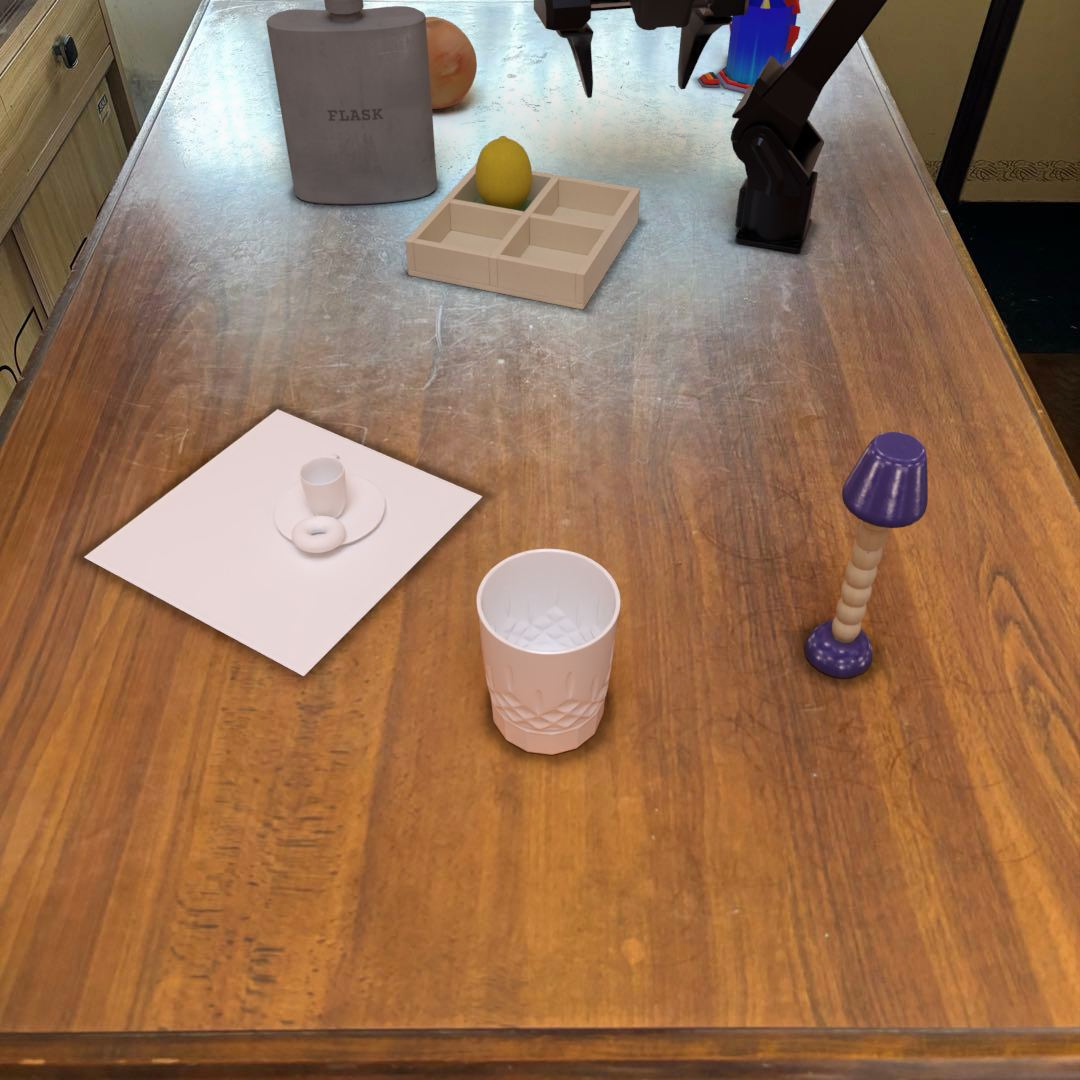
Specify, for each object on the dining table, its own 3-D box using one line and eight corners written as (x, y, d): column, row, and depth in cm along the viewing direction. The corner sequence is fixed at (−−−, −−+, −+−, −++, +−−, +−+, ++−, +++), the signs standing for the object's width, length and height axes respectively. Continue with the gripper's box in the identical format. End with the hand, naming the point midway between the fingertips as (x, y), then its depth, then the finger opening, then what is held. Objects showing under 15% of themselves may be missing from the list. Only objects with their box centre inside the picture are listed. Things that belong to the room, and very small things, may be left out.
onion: (494, 99, 133) (492, 12, 126) (446, 129, 127) (441, 39, 120) (430, 82, 137) (424, -3, 130) (380, 111, 131) (371, 23, 124)
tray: (638, 222, 111) (640, 188, 109) (583, 310, 100) (584, 274, 97) (479, 194, 116) (477, 161, 113) (408, 275, 104) (405, 240, 101)
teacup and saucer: (330, 574, 76) (322, 531, 73) (243, 532, 79) (232, 489, 76) (407, 501, 81) (402, 459, 78) (323, 464, 84) (316, 422, 81)
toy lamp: (798, 621, 72) (847, 419, 61) (870, 622, 72) (932, 420, 61) (809, 678, 69) (863, 475, 57) (884, 680, 69) (953, 477, 57)
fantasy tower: (691, 83, 137) (701, -21, 128) (735, 54, 144) (747, -47, 135) (777, 106, 132) (794, -1, 123) (819, 74, 139) (837, -29, 130)
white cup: (480, 664, 70) (473, 552, 63) (603, 656, 70) (610, 543, 63) (486, 769, 64) (479, 658, 57) (620, 759, 65) (630, 648, 58)
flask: (292, 208, 113) (257, 2, 100) (296, 182, 118) (263, -19, 104) (438, 202, 114) (423, -3, 100) (436, 176, 119) (423, -24, 105)
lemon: (525, 230, 109) (525, 151, 103) (471, 224, 109) (467, 146, 104) (537, 203, 112) (537, 127, 107) (484, 198, 113) (481, 122, 108)
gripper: (562, -56, 87) (559, 137, 98) (784, -71, 90) (758, 117, 101) (531, -95, 95) (532, 88, 106) (737, -107, 98) (717, 71, 109)
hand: (635, 92), depth 105 cm, fingers open, 9 cm apart
